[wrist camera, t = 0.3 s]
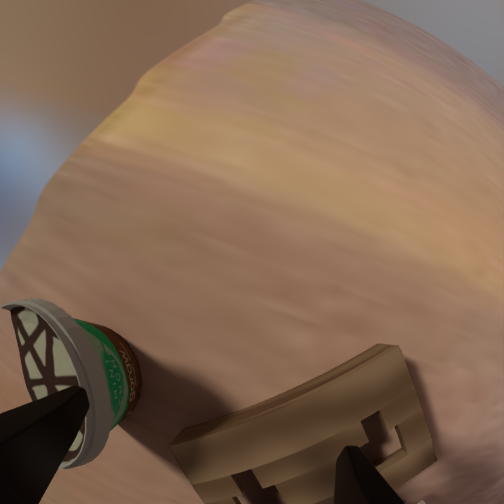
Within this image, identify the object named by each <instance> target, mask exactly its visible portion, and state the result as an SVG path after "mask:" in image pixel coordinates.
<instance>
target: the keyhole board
mask: <svg viewBox="0 0 504 504" xmlns="http://www.w3.org/2000/svg"><path fill="white" fill-rule="evenodd" d="M375 412H377V414H378V416H379V419H380V421H381V424H382V427H383V428H385V429H386V430H387V431H388V430H390V429H392V428H393V427H395V429H396V432H397V435H398V437H399V440H400V443H401V446H402V448H400V449H399V450H397V451H396V452H394V453H392V454H391V455H389V456H388V457H386V458H384V459H383V460H381V461H379V462H377V463H376V464H374V467H375V468H376V469H377V470H378V472H379V473H380V474H381V475H382V476H383V478H384V479H385V480H386V481H387V482H388V484H389V485H390V486H391V487H392V489H395V488H396V487H398V486H400V485H401V484H403V483H404V482H406V481H408V480H409V479H411V478H412V477H414V476H415V475H417V474H418V473H420V472H421V471H423V470H424V469H425V468H427V467H428V466H430V465H431V464H432V463H434V462H435V461H436V460H437V457H436V454H435V450H434V446H433V443H432V439H431V436H430V432H429V429H428V426H427V422H426V419H425V416H424V413H423V410H422V407H421V404H420V401H419V398H418V395H417V392H416V389H415V386H414V384H413V381H412V378H411V375H410V373H409V370H408V367H407V365H406V362H405V360H404V357H403V354H402V352H401V349H400V347H399V346H397V345H387V344H376V345H375V346H373V347H371V348H370V349H368V350H366V351H365V352H363V353H361V354H359V355H358V356H356V357H354V358H352V359H350V360H349V361H347V362H345V363H343V364H341V365H339V366H338V367H336V368H334V369H332V370H330V371H328V372H326V373H324V374H322V375H320V376H318V377H316V378H314V379H312V380H310V381H308V382H306V383H304V384H301V385H299V386H297V387H295V388H293V389H291V390H288V391H286V392H284V393H282V394H279V395H277V396H275V397H272V398H270V399H268V400H265V401H263V402H260V403H258V404H255V405H253V406H250V407H248V408H245V409H243V410H240V411H237V412H235V413H232V414H229V415H226V416H223V417H221V418H218V419H215V420H212V421H209V422H206V423H203V424H199V425H196V426H193V427H190V428H186V429H183V430H182V431H181V432H180V433H179V434H178V436H177V437H176V438H175V439H174V441H173V442H172V443H171V444H170V446H169V448H170V450H171V452H172V454H173V455H174V457H175V459H176V460H177V462H178V464H179V465H180V467H181V469H182V470H183V472H184V474H185V475H186V477H187V478H188V480H189V481H190V483H191V485H192V486H193V488H194V489H195V491H196V492H197V494H198V495H199V497H200V498H201V499H202V501H203V502H204V504H241V503H240V501H239V500H238V498H237V497H236V496H239V495H243V489H244V488H243V487H242V485H241V484H240V482H239V480H238V479H237V477H236V475H235V474H236V473H240V472H243V471H246V470H249V469H251V470H252V471H253V473H254V475H255V476H256V478H257V480H258V481H259V483H260V485H261V486H262V488H266V487H269V486H272V485H275V486H276V488H277V490H278V491H279V493H280V495H281V496H282V498H283V499H284V501H285V503H286V504H334V488H335V470H336V460H337V458H338V456H339V455H340V453H341V452H342V450H343V448H344V447H345V446H347V445H356V446H358V447H361V446H363V445H365V444H366V443H368V442H369V440H368V438H367V436H366V433H365V431H364V428H363V426H362V424H361V420H363V419H365V418H367V417H368V416H370V415H372V414H374V413H375Z"/></svg>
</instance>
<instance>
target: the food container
mask: <svg viewBox="0 0 504 504" xmlns="http://www.w3.org/2000/svg"><path fill="white" fill-rule="evenodd" d="M1 308H3V309H6V310H10V312H11V318H12V323H13V326H14V330H15V334H16V339H17V343H18V348H19V352H20V359H21V364H22V370H23V375H24V379H25V383H26V387H27V389H28V392H29V394H30V396H31V399H32V401H35V400H38V399H40V398H43V397H45V396H48V395H50V394H53V393H55V392H58V391H60V390H63V389H65V388H68V387H70V386H72V385H78V386H81V387H83V388H85V390H86V392H87V396H88V399H89V403H90V407H89V410H88V412H87V414H86V417H85V419H84V421H83V423H82V425H81V428H80V430H79V432H78V434H77V437H76V439H75V441H74V442H73V444H72V446H71V447H70V449H69V451H68V453H67V454H66V456H65V458H64V459H63V461H62V463H61V465H60V466H59V468H58V469H60V468H63V469H69V468H73V467H77V466H81V465H84V464H86V463H89V462H91V461H92V460H93V459H95V458H96V457H97V456H98V455H99V454H100V452H101V451H102V450H103V448H104V446H105V444H106V442H107V439H108V436H109V432H110V431H111V430H112V429H113V428H114V427H115V426H116V425H117V424H118V423H119V422H120V421H122V420H123V419H124V418H125V417H126V416H127V415H128V414H129V413H130V412H131V411H132V410H133V409H134V407H135V405H136V403H137V401H138V399H139V397H140V391H141V384H142V379H141V372H140V367H139V364H138V361H137V359H136V356H135V354H134V352H133V351H132V349H131V348H130V346H129V345H128V344H127V342H126V341H125V340H124V339H123V338H122V337H121V336H120V335H119V334H117V333H116V332H114V331H113V330H111V329H109V328H107V327H105V326H101V325H97V324H93V323H89V322H85V321H82V320H78V319H74V318H72V317H71V316H70V315H69V314H68V313H66V312H65V311H64V310H63V309H62V308H60V307H58V306H57V305H55V304H53V303H51V302H48V301H45V300H42V299H25V300H17V301H12V302H10V303H7V304H5V305H3V306H1Z"/></svg>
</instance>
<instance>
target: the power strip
mask: <svg viewBox="0 0 504 504" xmlns="http://www.w3.org/2000/svg"><path fill="white" fill-rule="evenodd" d="M403 502H404V503H405V504H408V503H407V502H406V501H405V500H403ZM417 504H426V503H425V502H424V501H423V500H421V501H420V502H418V503H417Z"/></svg>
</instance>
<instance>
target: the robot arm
mask: <svg viewBox="0 0 504 504" xmlns="http://www.w3.org/2000/svg"><path fill="white" fill-rule="evenodd" d="M89 407H90V403H89V399H88V396H87V392H86V390H85V388H83V387H81V386H78V385H72V386H70V387H68V388H65V389H63V390H60V391H58V392H55V393H53V394H50V395H48V396H45V397H43V398H40V399H38V400H35V401H33V402H30V403H27V404H25V405H22V406H20V407H17V408H14V409H11V410H9V411H6V412H3V413H1V414H0V504H39V502H40V500H41V498H42V497H43V495H44V493H45V491H46V489H47V487H48V486H49V484H50V482H51V480H52V479H53V477H54V475H55V473H56V471H57V470H58V468H59V466H60V465H61V463H62V461H63V459H64V458H65V456H66V454H67V453H68V451H69V449H70V447H71V446H72V444H73V442H74V441H75V439H76V437H77V434H78V432H79V430H80V428H81V425H82V423H83V421H84V419H85V417H86V414H87V412H88V410H89ZM334 504H405V503H404V502H403V500H402V499H401V498H400V497H399V496H398V494H397V493H396V492H395V491H394V490H393V489H392V487H391V486H390V485H389V484H388V482H387V481H386V480H385V479H384V478H383V476H382V475H381V474H380V473H379V472H378V470H377V469H376V468H375V467H374V465H373V464H372V463H371V462H370V460H369V459H368V458H367V457H366V455H365V454H364V453H363V452H362V450H361V449H360V448H359V447H358V446H356V445H347V446H345V447H344V448H343V450H342V452H341V453H340V455H339V456H338V458H337V460H336V470H335V488H334Z"/></svg>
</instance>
